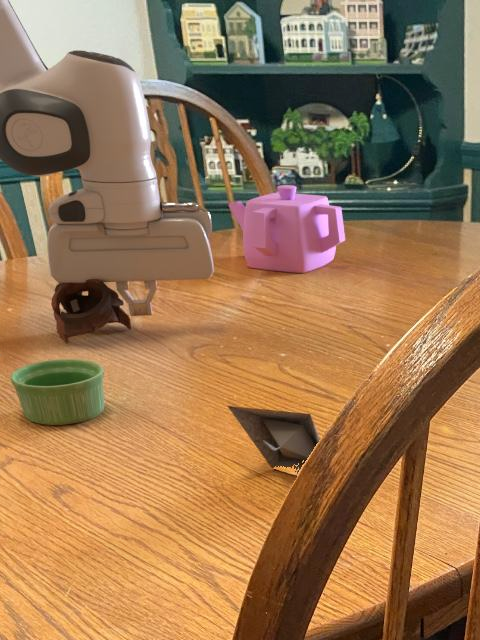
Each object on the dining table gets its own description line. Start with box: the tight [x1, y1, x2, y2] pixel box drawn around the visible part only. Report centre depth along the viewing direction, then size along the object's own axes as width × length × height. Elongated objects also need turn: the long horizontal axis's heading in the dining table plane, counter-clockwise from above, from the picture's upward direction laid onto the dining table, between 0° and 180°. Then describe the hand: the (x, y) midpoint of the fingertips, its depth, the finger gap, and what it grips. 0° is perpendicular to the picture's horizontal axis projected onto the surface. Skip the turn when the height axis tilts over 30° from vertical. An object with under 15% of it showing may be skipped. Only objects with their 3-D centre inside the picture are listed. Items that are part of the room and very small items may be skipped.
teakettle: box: [227, 184, 346, 274], centre depth 154 cm, size 17×17×12 cm
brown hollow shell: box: [50, 279, 133, 344], centre depth 118 cm, size 12×10×8 cm
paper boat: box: [227, 405, 321, 477], centre depth 83 cm, size 12×6×9 cm
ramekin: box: [9, 358, 106, 426], centre depth 95 cm, size 9×9×4 cm
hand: (141, 314), depth 121 cm, fingers closed
